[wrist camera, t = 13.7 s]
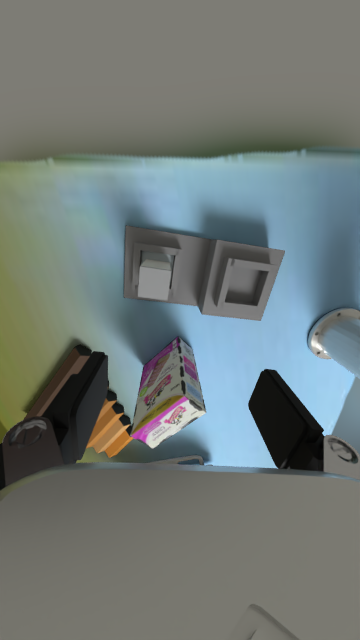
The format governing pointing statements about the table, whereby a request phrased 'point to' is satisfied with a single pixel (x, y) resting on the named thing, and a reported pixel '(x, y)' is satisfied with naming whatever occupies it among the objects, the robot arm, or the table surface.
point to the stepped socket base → (205, 271)
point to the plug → (154, 279)
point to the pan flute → (110, 423)
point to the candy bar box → (167, 395)
